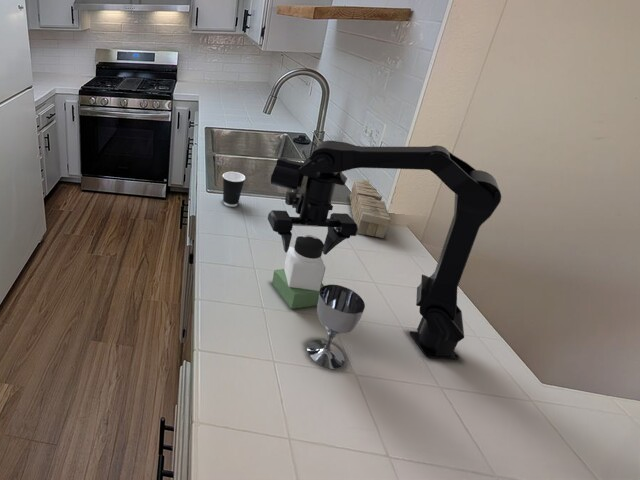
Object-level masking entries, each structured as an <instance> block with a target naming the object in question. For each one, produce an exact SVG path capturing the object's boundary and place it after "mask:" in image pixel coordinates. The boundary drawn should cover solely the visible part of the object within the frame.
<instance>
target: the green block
mask: <svg viewBox="0 0 640 480" xmlns="http://www.w3.org/2000/svg"><path fill="white" fill-rule="evenodd" d="M271 285H272V286H273V288H274V289H275V290H276V291H277V293H278V294H279V296H280V297H281V298H282V299H283V301H284V302H285V303H286V304H287V305H288V307H289V308H290V309H291V310H294V309H300V308H307V307H314V306H317V300H318V295H319V291H314V290H307V289H300V288H292V287H289V286H288V282H287V278H286V275H285V271H284V268H280V269H274V271H273V276H272V280H271ZM323 286H325V285H324V283H322V284H321V288H322V287H323ZM321 288H320V289H321Z"/></svg>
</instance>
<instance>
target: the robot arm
mask: <svg viewBox="0 0 640 480" xmlns="http://www.w3.org/2000/svg"><path fill="white" fill-rule="evenodd" d="M354 169H386V170H387V169H392V170H420V171H421V170H422V171H423V170H424V171H430V172H431V173H433V174H434V175H435V176H436V177H437V178H438V179H439V180H440V181H441V182H442V183H443V184H444V185H445V186H446V187H447V188H448V189H449V190H450V191H451V192H453V193H454V208H453V216H452V219H451V221H450V222H451V223H450V225H449V228H448V230H447V234H446V238H445V240H444V243H443V246H442V250H441V252H440V255H439V258H438V261H437V264H436V267H435V269H434V271H433V273H432V274H431V275H430V276H428V275H425V274H421V278H420V279H421V281H420V284H419V285H418V286H417V288H416V303H415V305H416V306H417V307H419V314H420V316H421V319H420V321H419V324H418V325H417V328H416V331H414V330H410V331H409V333H408V334H409V335H410V337H411V339H412V340H413V342H414V343H415V344H416V345H417V346H418V348H419V349H420V350H421V352H422V354H424V356H425V357H427V358H433V359H445V360H447V359H448V360H459V359H460V356H459V355H458V353H457V352H456V351H455V350H456V347H457V345H458V343H459V342H460V341H462V340H463V339H464V338H465V332H464V331H465V330H464V321H463V312H462V310H461V308H460V307H459V305H458V287H459V285H460V281H461V280H462V276H463V274H464V272H465V271H464V270H465V268H466V265H467V262H468V260H469V257H470V254H471V252H472V249H473V246H474V243H475V241H476V238H477V236H478V233H479V230H480V228H481V226H482V225H483V224H484V223H485V222H486V221H488V220H489V219H490V218H491V217H492V215H493V214H494V212H495V211H496V209H497V208H498V207H499V205H500V204H501V201H502V194H501V190H500V188H499V185H498V182H497V180H496V178H495V177H494V176H493V175H492V174H491V173H489V172H487V171H485V170H481V169H480V170H479V169H476V168H475V167H473V166H472V165H471V164H469V163H468V162H466V161H465V160H463V159H461V158H460V157H458V156H456V155H454V154H453V153H452V152H451V151H449V150H448V149H447V148H446V147H444V146H442V145H438V144H437V145H430V146H361V145H355V144H352V143H348V142H343V141H339V140H338V141H337V140H331V139H329V140H324V141H322V142H320V143H319V144H318V145H317V146H316V147H315V148H314V150H313V152H312V153H311V154H310V156H309V157H307V158H306V159H305V160H304V161H303V162H301V161H296V160H291V159H287V158H286V157H281V156H280V157H278V158H277V160H276V163H275V166H274V169H273V171H272V173H271V175H270V185H273V186H276V187H280V188H284V189H287V190H291V191H286V192H285V193H286V194H285V200H284V202H285V204H286V205H287V206H292V207H291V208H292V209H295V213H296V214H297V215H299V216H290V215H289V213H288V212H287V210H278V209H277V210H275V209H272V210H271V211H269V212H268V215H267V221H268V223H269V225H270V227H271V229H272V231H273V232H275V233H277V234H278V235H280V236H281V241H282V248H283V251H284V253H287V252H288V249H289V247H290V245H291V241H292V237H293V233H292V231H293V226H294V227H311V228H313V227H315V228H319V227H320V228H322V227H323V228H327V233H326V237H325V239H324V242H323V244H324V247H323V251H322V255H327V254H328V253H329V252H330V251H332V250H333V249H334V248H336V246H338V245H339V244H341V243H342V242H344V241H345V240H346V239H350V238H351V237H356V236H357V235H358V233H357V232H358V225H357V224H356V223H355V222H354V219H353V217H351V216H350V215H349V214H348V213H339V212H332V213H331V214H330V215H329V213H330V212H329V211H333V209H334V206H333V204H332V200H333V196H334V193H335V187H336V185H339V186H345V184H346V183H347V180H348V177H347V176H346V175H345V174H344V173H343V172H347V171H350V170H354ZM305 183H306V184H305ZM304 185H305V188H304ZM303 188H304V192H303V193H301V194H297V192H295V191H298V190H299V189H303ZM328 216H329V217H328Z"/></svg>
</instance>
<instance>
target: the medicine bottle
mask: <svg viewBox="0 0 640 480" xmlns="http://www.w3.org/2000/svg"><path fill="white" fill-rule="evenodd" d="M323 247H324V242H323V241H322V240H321V239H320V238H319V237H317V236H314V235H312V234H307V233H306V234H299V235H297V236H296V238H295V243H294V246H289V249H288V251H287V252H286V256H285V262H284V267H283V269H284V271H285V275H286V278H287V282H288V286H289V287H292V288H300V289H307V290H314V291H320V288H321V284H323V279H324V276H325V272H326V269H327V268H326V264H325V263H324V260H323V258H322V256H323Z"/></svg>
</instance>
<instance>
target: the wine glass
mask: <svg viewBox="0 0 640 480" xmlns="http://www.w3.org/2000/svg"><path fill="white" fill-rule="evenodd" d="M365 308H366V304H365V301H364V300H363V298H362V297H361V296H360V295H359V294H358V293H357V292H355V291H354V290H352V289H350V288H348V287H346V286H343V285H339V284H325V285H324V286H323V287H322V288H321V289H320V291H319V295H318V300H317V305H316V315H317V319H318V320H319V322H320V323H321V325H322V326H323V327H324V329H325V330H326V332H327V337H326V340H322V339H313V340H311V341H310V342H309V343H308V344H307V346H306V351H307V353H308V356H309V357H310V358H311V359H312V360H313V361H314V362H315V363H316V364H318V365H319V366H321V367H323V368H325V369H330V370H338V369H341V368H342V367H343V366H344V365H345V362H346V361H345V356H344V354H343V353H342V351H341V350H340V349H339V348H338V347H337V346H336V345H335V344H333V343H332V342H333V340H334V338H335V337H336V336H337V335H344V334H348V333H350V332H352V331H354V329H355V328H356V327H357V325H359V323H360V321H361V319H362V317H363V315H364V311H365Z"/></svg>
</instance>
